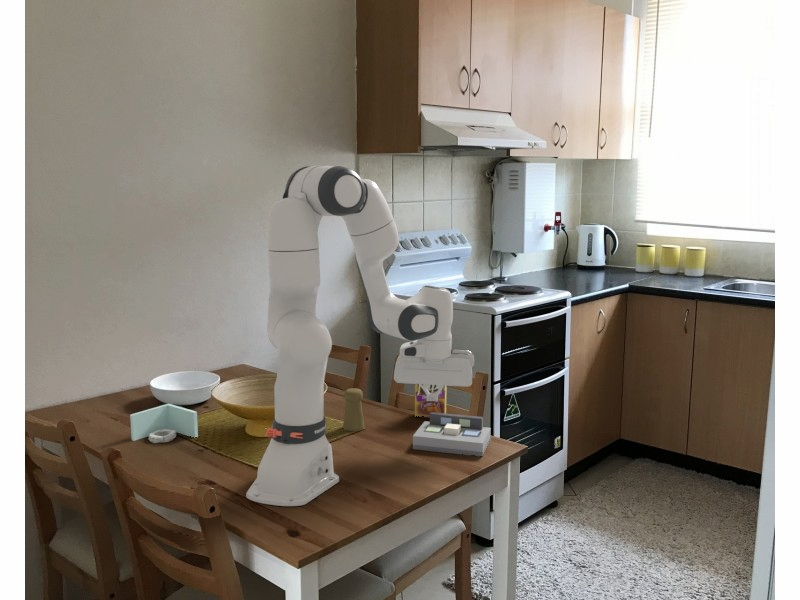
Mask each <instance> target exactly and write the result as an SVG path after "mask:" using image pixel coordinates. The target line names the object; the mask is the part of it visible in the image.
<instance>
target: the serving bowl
mask: <svg viewBox="0 0 800 600" xmlns="http://www.w3.org/2000/svg"><path fill="white" fill-rule="evenodd" d="M220 382H221V377H220V375H219V374H217V373H213V372H211V371H210V372H209V371H201V370H196V371H195V370H192V371H191V370H190V371H189V370H188V371H187V370H185V371H177V372H170V373H165V374H162V375H158V376H157V377H154V378H153V379H152V380H150V382H149V387H150V391H151V393H152V395H153V397H155V398H156V399H157V400H159V402H162V403H164V404H172V405H175V406H191V405H195V404H199V403H202V402H205V401H208V400H209V399H210V398H212V397H211V390H212V389H213V388H214V387H215V386H217V385H218V384H219V385H220Z"/></svg>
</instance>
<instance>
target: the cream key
mask: <svg viewBox="0 0 800 600" xmlns="http://www.w3.org/2000/svg"><path fill="white" fill-rule="evenodd" d="M460 433H461V425H458V424H448V423H447V425H446V426H445V427H444V434H450V435H460Z"/></svg>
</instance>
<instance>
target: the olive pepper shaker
mask: <svg viewBox="0 0 800 600" xmlns="http://www.w3.org/2000/svg"><path fill="white" fill-rule="evenodd" d="M363 393H364V392H363V391H362V389H360V388H355V387H353V388H352V387H350V388H347V389H346V390H345V391H344V393H343V394H344V396H343V398H344V400H345V408H344V409H345V410H344V418H343V424H342V429H343V428H344V429H345V430H344V429H343V430H344V431H347V430H348V431H347V432H359V431H363V430H365V420H364V414H363V405H362V400H363V397H364V394H363Z"/></svg>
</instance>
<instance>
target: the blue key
mask: <svg viewBox="0 0 800 600" xmlns="http://www.w3.org/2000/svg"><path fill="white" fill-rule="evenodd" d="M463 436H469V437H479V436H480V431H475V430H465V432H464V434H463Z"/></svg>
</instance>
